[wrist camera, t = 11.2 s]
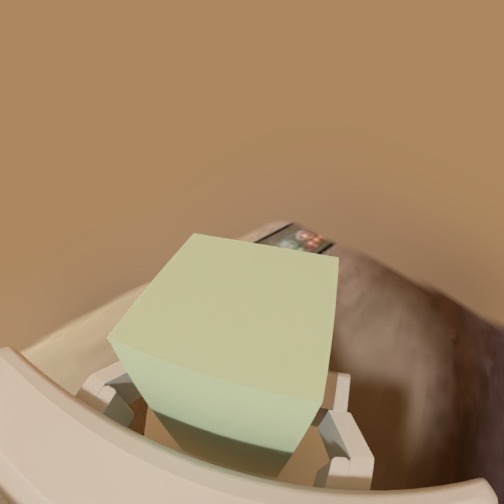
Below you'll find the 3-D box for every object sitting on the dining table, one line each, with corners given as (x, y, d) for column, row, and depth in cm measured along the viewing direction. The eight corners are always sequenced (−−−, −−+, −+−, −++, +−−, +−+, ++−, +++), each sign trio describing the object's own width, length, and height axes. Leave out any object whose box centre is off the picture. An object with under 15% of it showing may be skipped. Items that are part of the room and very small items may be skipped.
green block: (297, 400, 14) (339, 257, 9) (276, 478, 10) (322, 402, 5) (215, 379, 15) (194, 232, 10) (182, 450, 11) (106, 337, 6)
